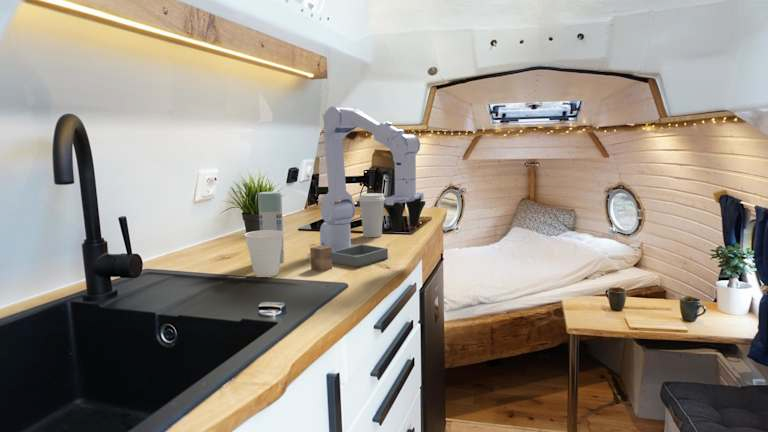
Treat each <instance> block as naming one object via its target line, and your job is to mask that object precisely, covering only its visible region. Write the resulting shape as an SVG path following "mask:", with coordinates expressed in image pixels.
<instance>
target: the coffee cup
mask: <svg viewBox="0 0 768 432" xmlns="http://www.w3.org/2000/svg"><path fill="white" fill-rule="evenodd" d="M358 202H359V208H360V215H361V216H360V217H361V223H362V224H361V225H362V233H363V234H362V235H363V237H364V238H368V237H375V238H380V236H381V237H382V235H383V220H384V217H383V216H384V208H385V202H386V197H385V196H384V194H383V193H378V192H374V193H373V192H369V193H368V192H367V193H361V194H360V195H359V197H358Z"/></svg>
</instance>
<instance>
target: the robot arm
mask: <svg viewBox="0 0 768 432" xmlns="http://www.w3.org/2000/svg"><path fill="white" fill-rule="evenodd" d="M322 116H323V117H322V119H323V130H324V132H323V138H324V149H325V150H324V152H325V153H324V154H325V163H326V175H327V188H328V192H327V193H326V194H325V195H324V197H322V199H321V202H322V204H321V209H320V215H321V217H322V220H323V221H324V222H323V223H322V224H321V226H320V228H319V239H320V243H319V244H320V245H323V246H329V247H331V248H332V252H333V251H337V250H341V249H345V248H349V247H352V237H351V234H352V233H351V231H352V230H351V222H353V218H355V215H356V207H355V203H354V201H353V200H354V199H353V195H352V194H350V193H349V192H348V191H347V183H346V182H347V181H346V171H345V159H344V145H343V144H344V143H343V140H344V139H345V137H346V136H347V135H349V134H350V133H351V132H352V131H354V130H356V129H357V128H361V129H363V130H365V132H366V131H367V132H368V133H370V134H372V135H373V137H374V140H375V141H377V142H378V143H379V144H381V145H383V146H384V147H386V148H388V149H389V150H390V153H391V154H392V161H393V163H394V195H390V196H387V197H385V203H384V209H385V211H386V213H387V214H388V216H389V219H390V222H391V226H392V229H393V231H398V232H400V231H402V227H403V226H402V222H403V216H404V211H405V209H406V207H407V212H408V223H409V227H412V228H413V227H415V228H416V227H418V225H419V221H420V217H421V214H422V211H423V209H424V207H425V205H426V201H425V198H424V192H417V190H416V189H417V182H416V180H417V179H416V178H417V177H416V176H417V174H416V171H417V170H416V169H417V168H416V167H417V166H416V163H417V162H416V157H417V154H418V153H419V151H420V149H421V148H420V147H421V142H420V139H419V137H418V136H416V134H414V133H408V134H407V133H405V130H404V129H401V128H400V129H398V128H397V127H395V126H393V122H390V121H383V122H378V121H377V120H375V119H374V118H372V117H370V116H369V115H367V114H365V113H364V112H363V111H362V110H361V109H358V108H356V107H340V106H339V107H338V106H330V107H328V108H327V110H326V111H325V113H324V114H323V115H322ZM402 203H405V205H401V204H402ZM320 245H319V246H320Z"/></svg>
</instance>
